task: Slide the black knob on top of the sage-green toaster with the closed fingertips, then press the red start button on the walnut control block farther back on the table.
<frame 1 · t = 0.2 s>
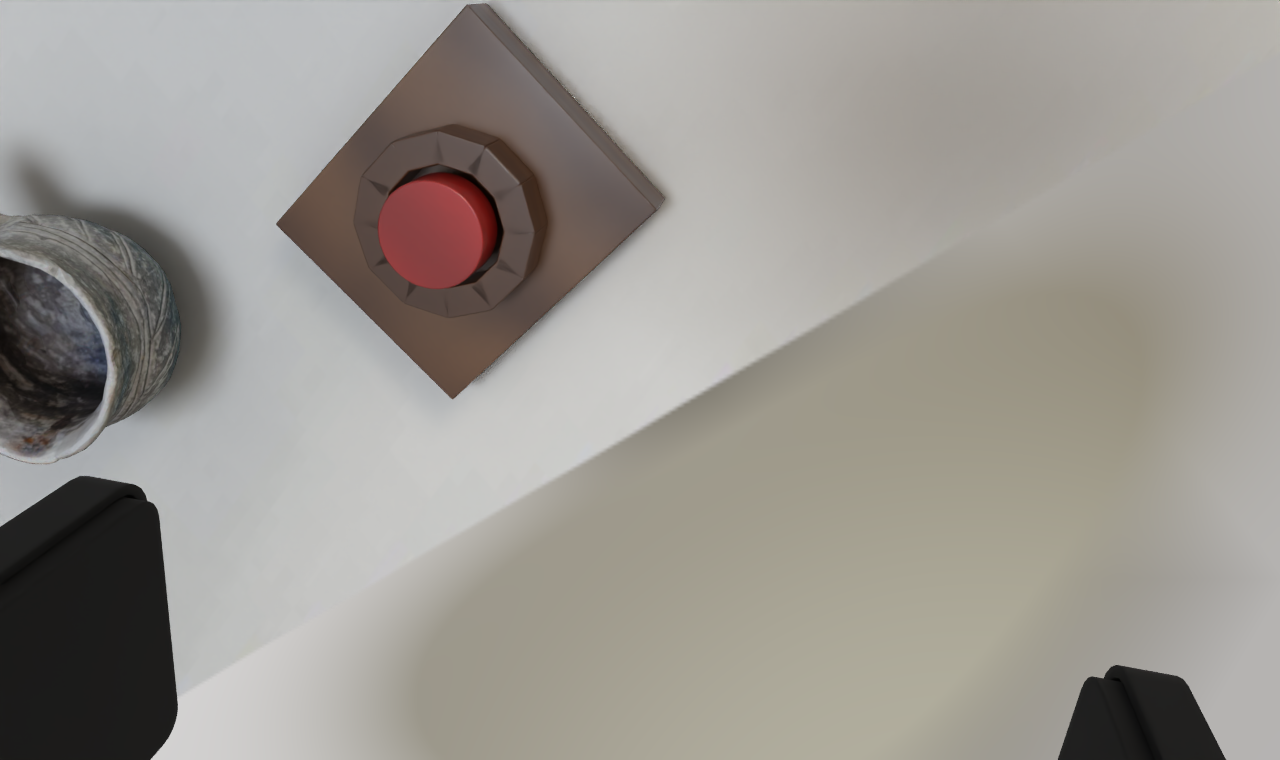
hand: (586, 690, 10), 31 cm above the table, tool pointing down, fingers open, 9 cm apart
start button: (438, 230, 37), point 4 cm above the table, slide at 0.1 cm
control block: (477, 205, 41), on the table
mug: (94, 276, 46), on the table
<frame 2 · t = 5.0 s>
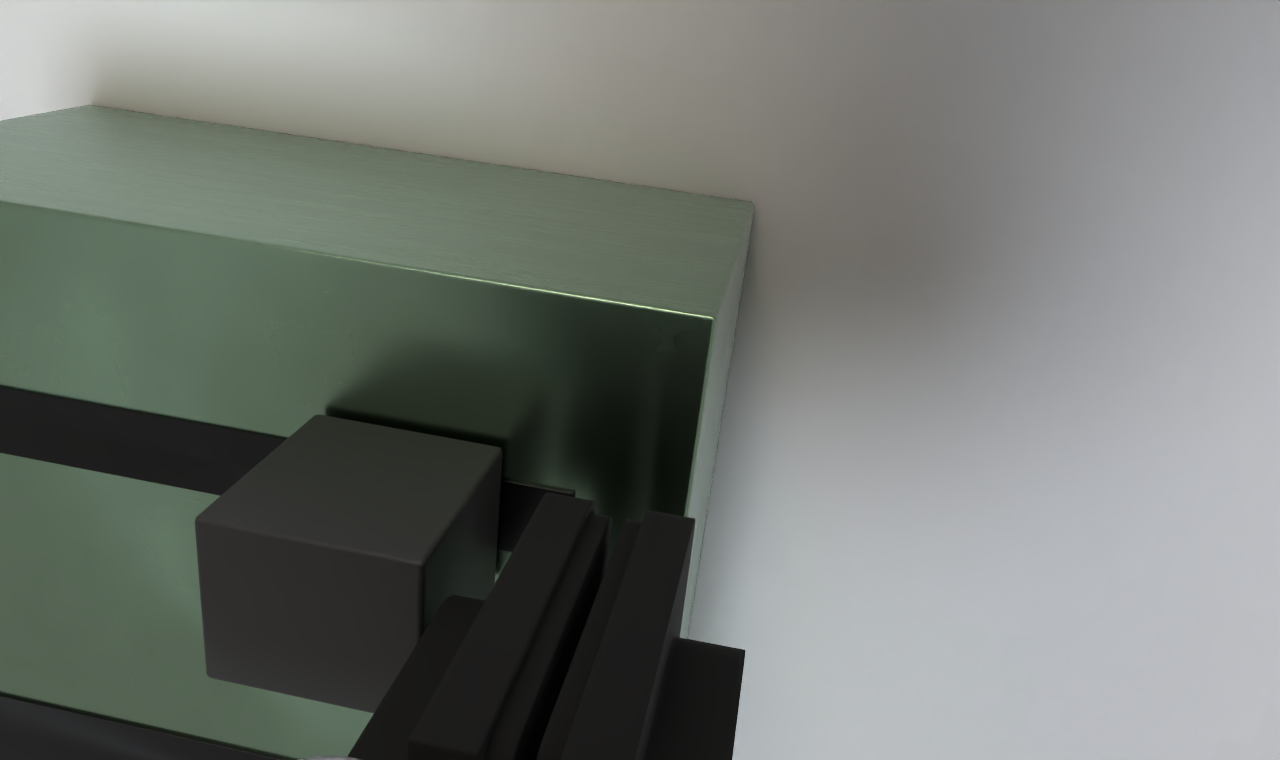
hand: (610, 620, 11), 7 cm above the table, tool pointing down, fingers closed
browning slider: (362, 555, 11), point 7 cm above the table, slide at 0.5 cm, touching gripper
toaster: (402, 459, 20), on the table
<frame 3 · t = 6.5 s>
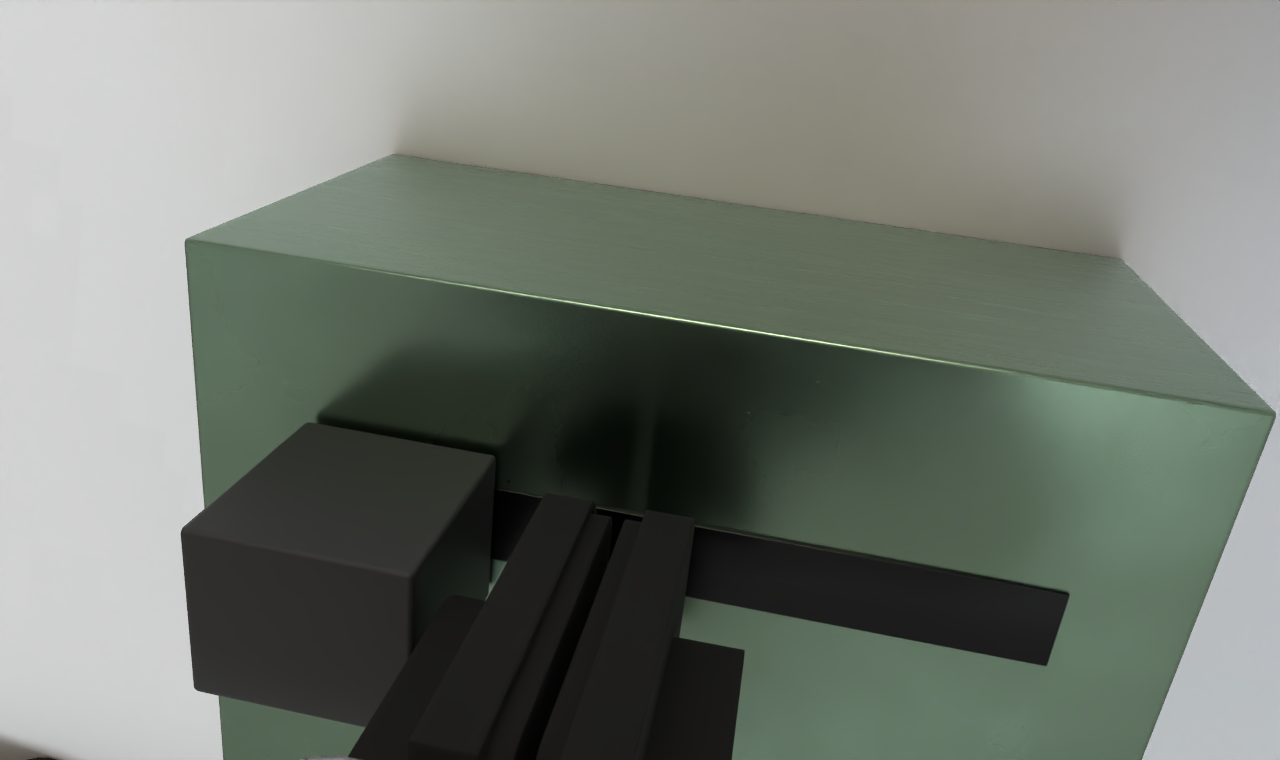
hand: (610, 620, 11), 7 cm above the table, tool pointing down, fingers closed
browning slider: (353, 566, 11), point 7 cm above the table, slide at 6.3 cm, touching gripper
toaster: (694, 520, 19), on the table
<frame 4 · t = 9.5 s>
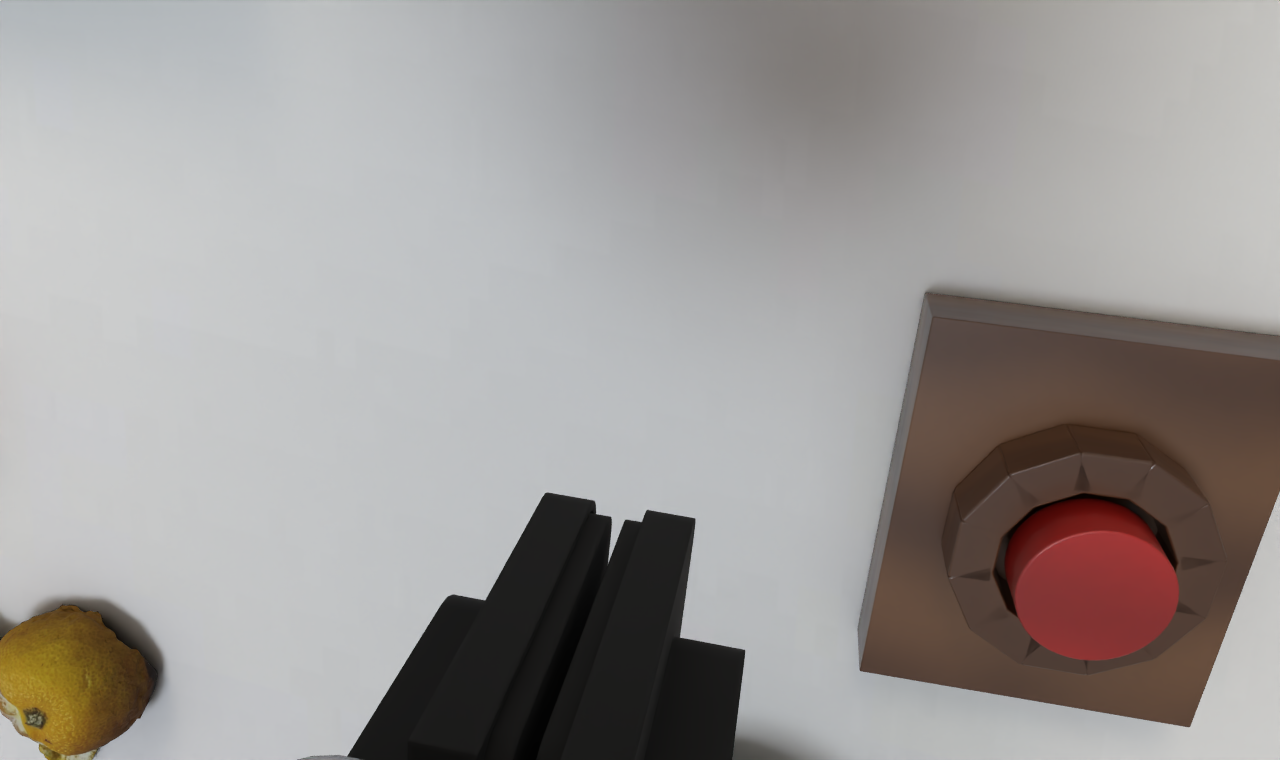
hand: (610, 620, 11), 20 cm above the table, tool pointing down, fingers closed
start button: (1087, 579, 27), point 4 cm above the table, slide at 0.1 cm
golden rounded piece: (60, 658, 41), on the table
control block: (1053, 497, 31), on the table
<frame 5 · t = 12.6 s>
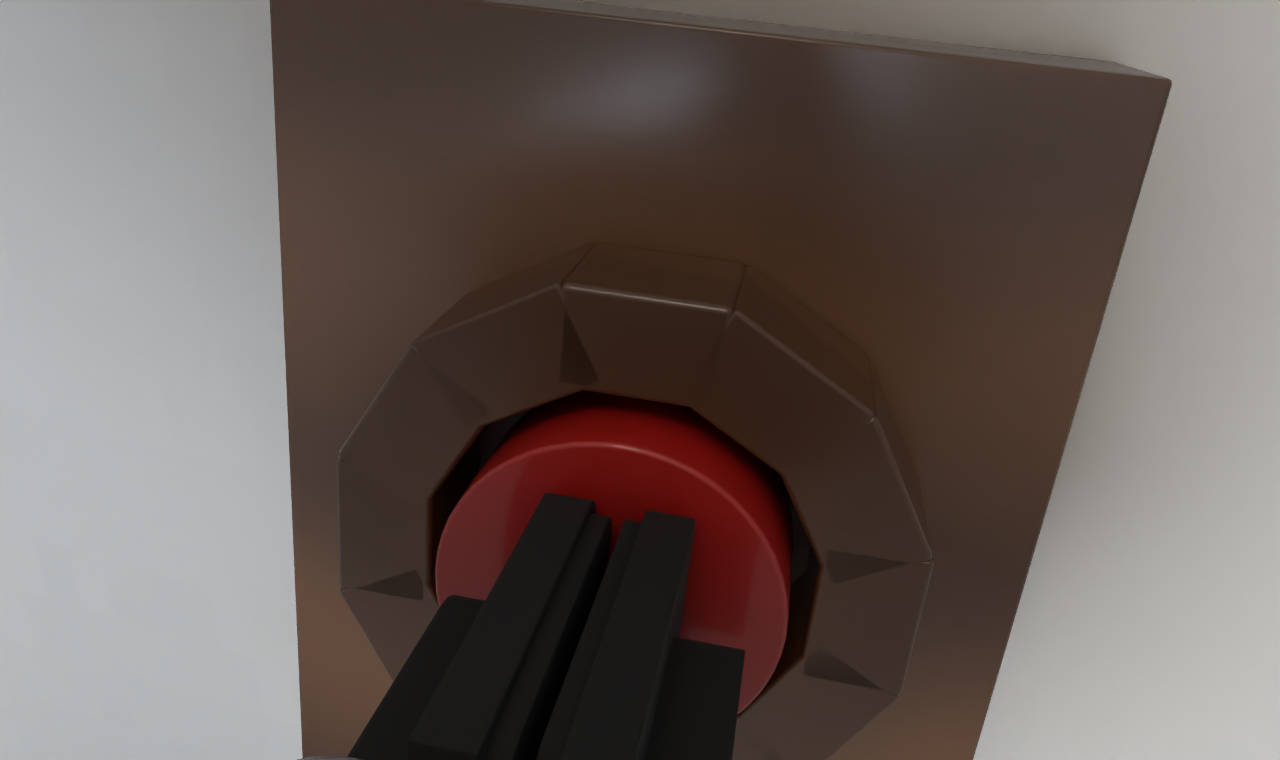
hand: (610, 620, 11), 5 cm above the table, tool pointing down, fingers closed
start button: (620, 564, 12), point 4 cm above the table, slide at -0.7 cm, touching gripper
control block: (666, 433, 15), on the table
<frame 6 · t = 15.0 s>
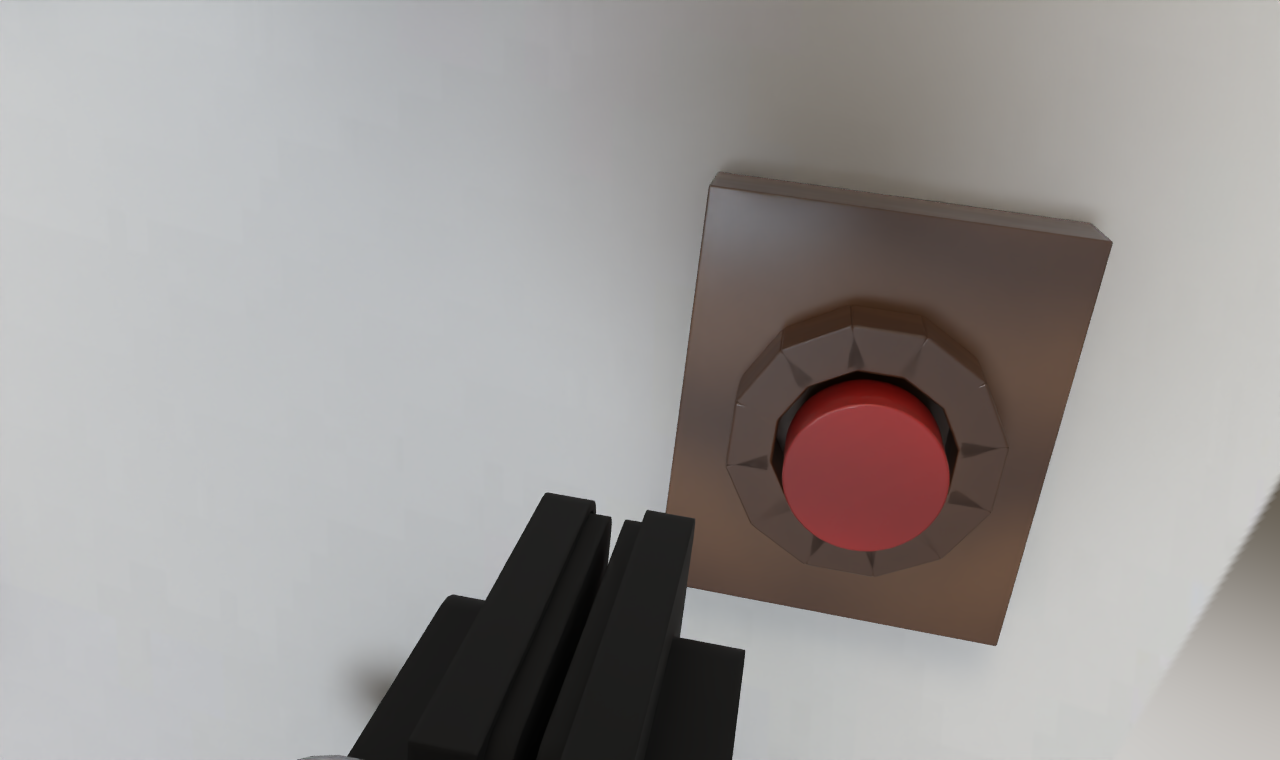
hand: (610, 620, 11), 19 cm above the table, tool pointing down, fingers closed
start button: (863, 464, 25), point 4 cm above the table, slide at 0.1 cm
control block: (859, 399, 29), on the table
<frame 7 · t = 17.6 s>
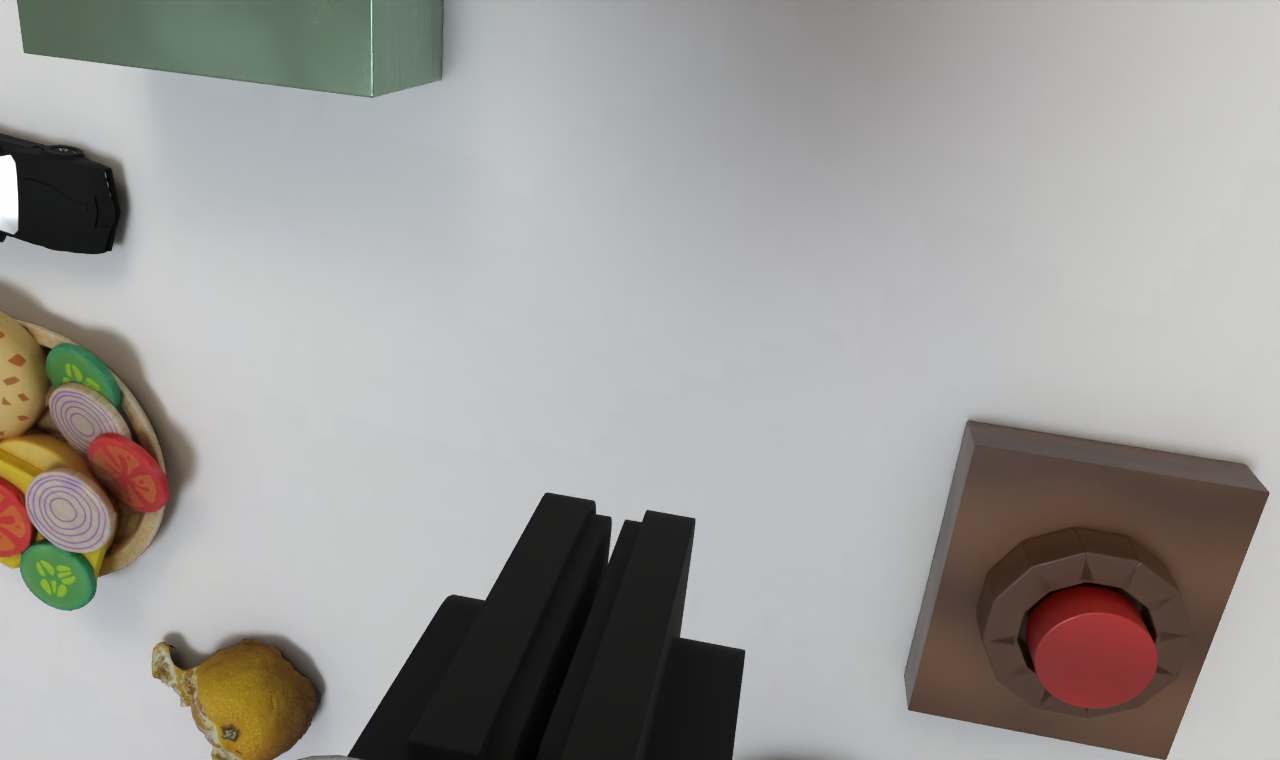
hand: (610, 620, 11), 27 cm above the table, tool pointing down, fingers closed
start button: (1089, 646, 35), point 4 cm above the table, slide at 0.1 cm
golden rounded piece: (235, 683, 50), on the table
toy car: (21, 178, 41), on the table
toy food set: (58, 439, 46), on the table
control block: (1062, 578, 40), on the table
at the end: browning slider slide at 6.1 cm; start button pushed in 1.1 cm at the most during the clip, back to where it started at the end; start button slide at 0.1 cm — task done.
